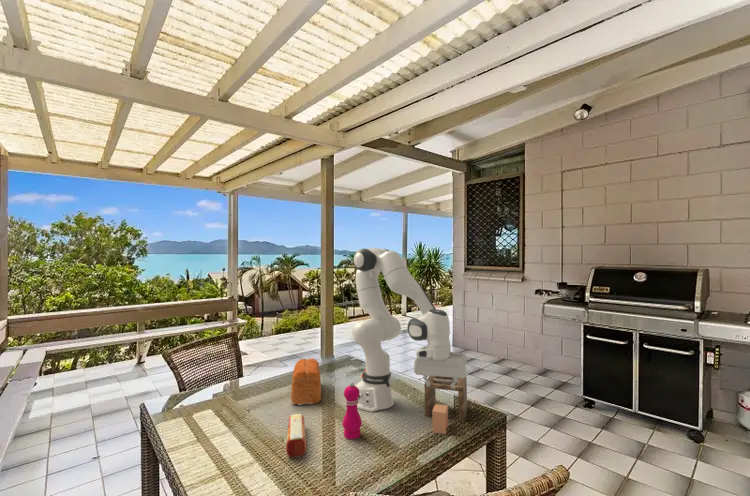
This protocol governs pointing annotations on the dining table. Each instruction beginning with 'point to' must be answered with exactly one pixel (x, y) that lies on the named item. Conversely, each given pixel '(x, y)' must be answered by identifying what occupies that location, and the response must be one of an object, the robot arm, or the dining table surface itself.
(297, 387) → the bread
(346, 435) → the pepper mill
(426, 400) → the stand
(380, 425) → the dining table surface
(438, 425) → the tall peach block
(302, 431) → the snack package
